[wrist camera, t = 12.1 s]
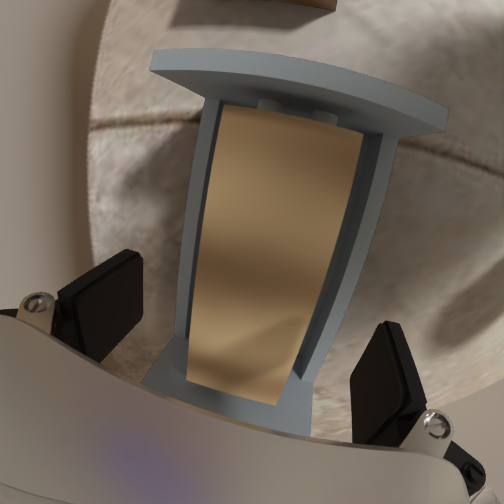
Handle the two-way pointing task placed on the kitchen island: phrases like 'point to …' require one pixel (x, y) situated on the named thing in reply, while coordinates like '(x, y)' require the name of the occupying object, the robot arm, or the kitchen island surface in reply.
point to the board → (265, 246)
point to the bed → (355, 217)
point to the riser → (314, 3)
